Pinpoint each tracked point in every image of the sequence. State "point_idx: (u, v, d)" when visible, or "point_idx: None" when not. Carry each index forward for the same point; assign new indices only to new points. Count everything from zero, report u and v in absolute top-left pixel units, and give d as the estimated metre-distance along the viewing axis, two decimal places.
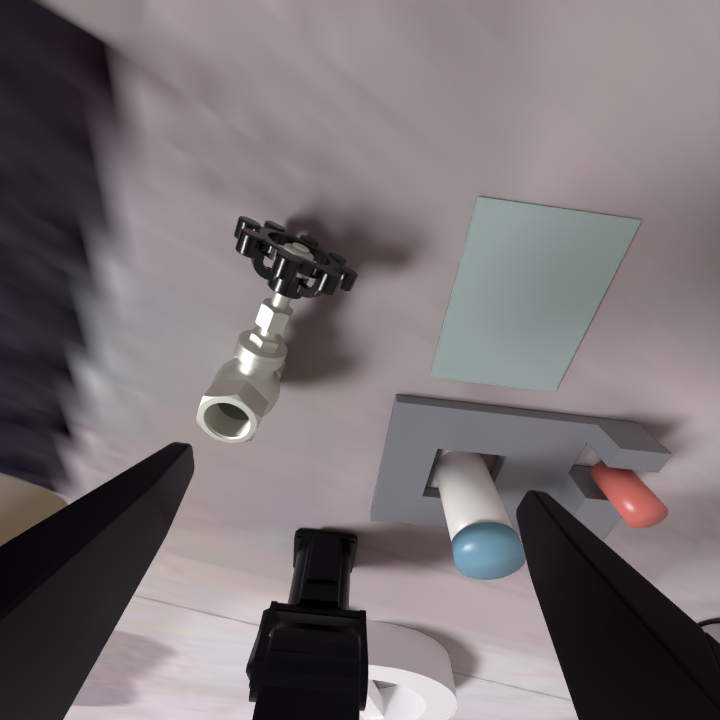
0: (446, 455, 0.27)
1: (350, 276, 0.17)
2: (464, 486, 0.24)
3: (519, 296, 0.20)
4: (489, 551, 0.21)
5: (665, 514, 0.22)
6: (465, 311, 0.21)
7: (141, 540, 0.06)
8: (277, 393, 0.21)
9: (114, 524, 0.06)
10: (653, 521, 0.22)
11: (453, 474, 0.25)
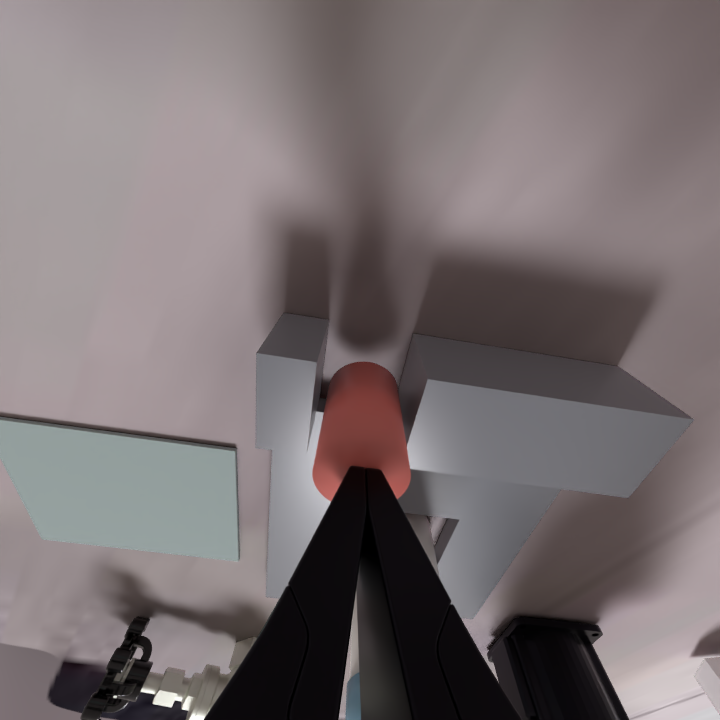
0: None
1: (108, 668, 0.20)
2: None
3: (115, 504, 0.18)
4: None
5: (355, 442, 0.08)
6: (149, 540, 0.19)
7: None
8: None
9: (360, 553, 0.06)
10: (384, 458, 0.08)
11: None
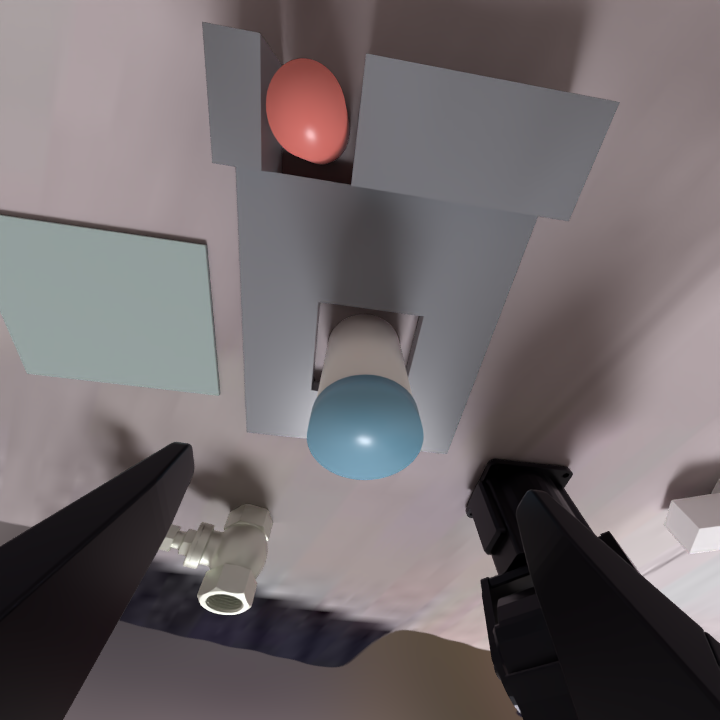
0: None
1: None
2: None
3: (95, 322, 0.18)
4: (339, 444, 0.13)
5: (297, 63, 0.10)
6: (131, 371, 0.20)
7: (141, 540, 0.06)
8: (235, 542, 0.24)
9: (114, 524, 0.06)
10: (322, 83, 0.10)
11: None
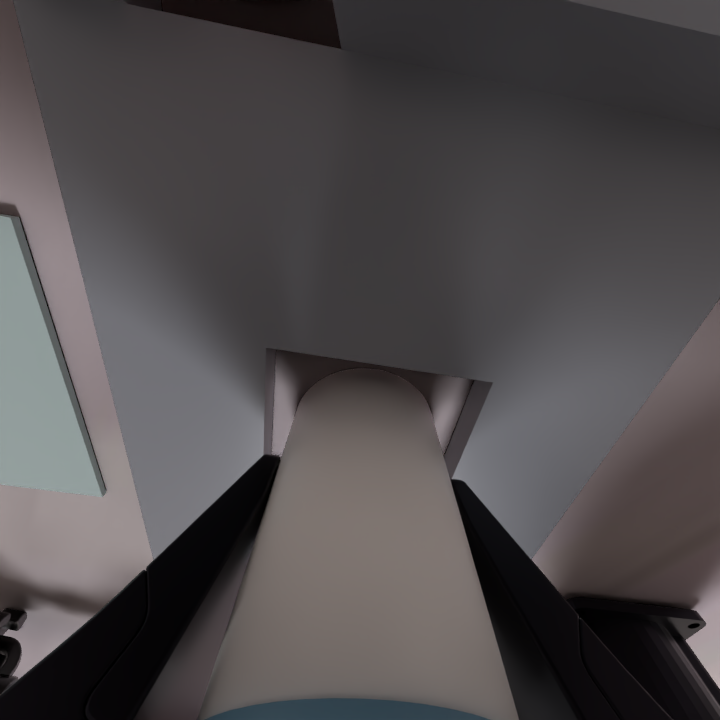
0: None
1: None
2: None
3: None
4: None
5: None
6: None
7: None
8: None
9: (241, 539, 0.06)
10: None
11: None
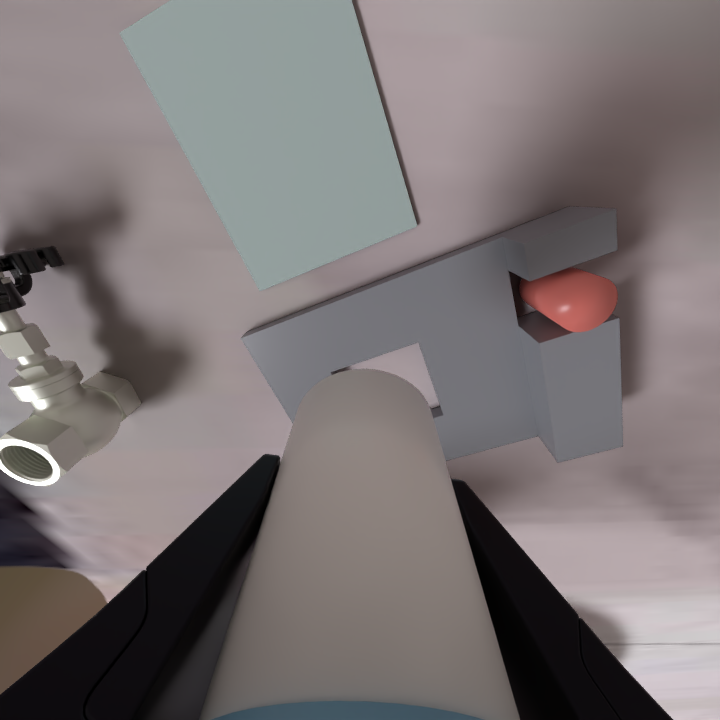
0: None
1: (14, 256, 0.15)
2: None
3: (267, 126, 0.15)
4: None
5: (613, 289, 0.14)
6: (227, 186, 0.16)
7: (251, 553, 0.07)
8: (96, 413, 0.19)
9: (241, 539, 0.06)
10: (605, 308, 0.14)
11: None
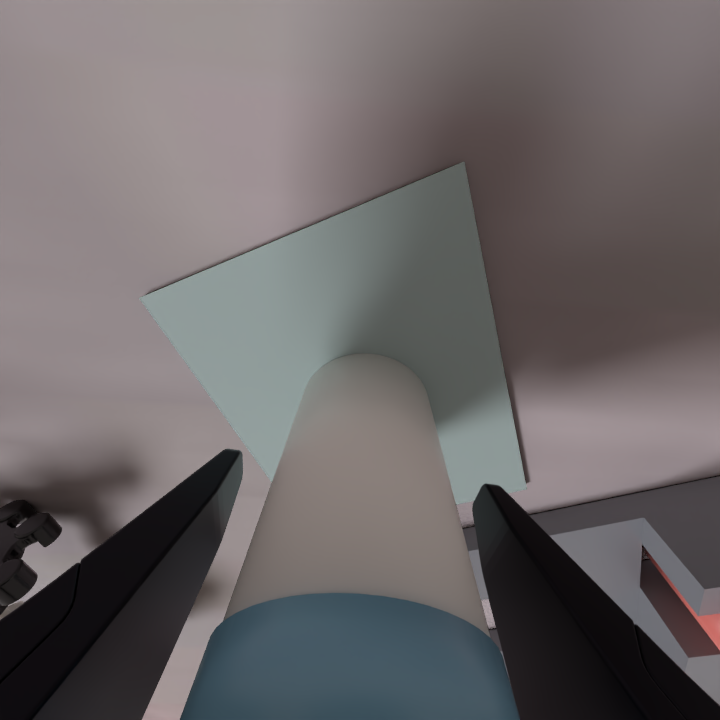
0: None
1: None
2: None
3: None
4: None
5: None
6: (279, 448, 0.12)
7: (204, 547, 0.07)
8: None
9: (186, 533, 0.06)
10: None
11: None
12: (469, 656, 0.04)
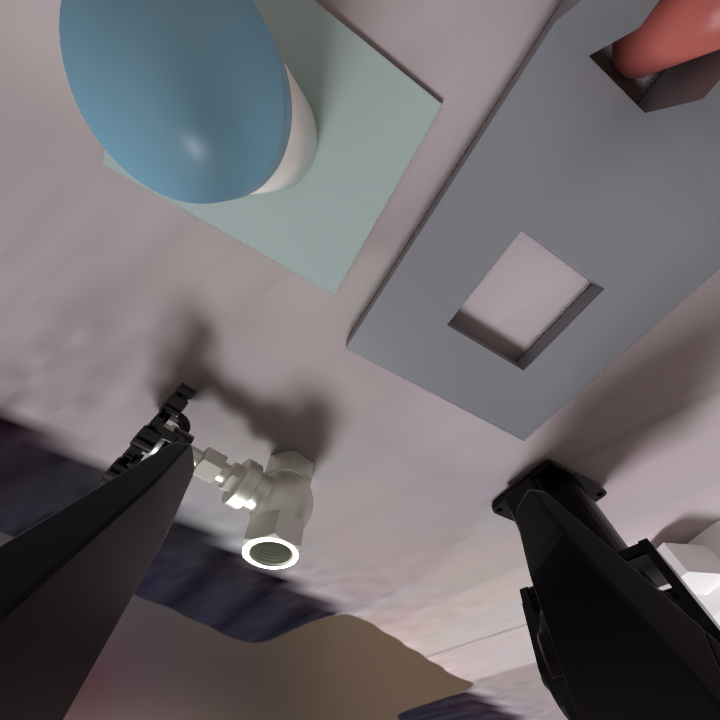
0: None
1: (164, 406, 0.17)
2: None
3: None
4: (155, 131, 0.07)
5: None
6: (249, 221, 0.16)
7: (141, 540, 0.06)
8: (289, 489, 0.20)
9: (114, 524, 0.06)
10: None
11: None
12: None
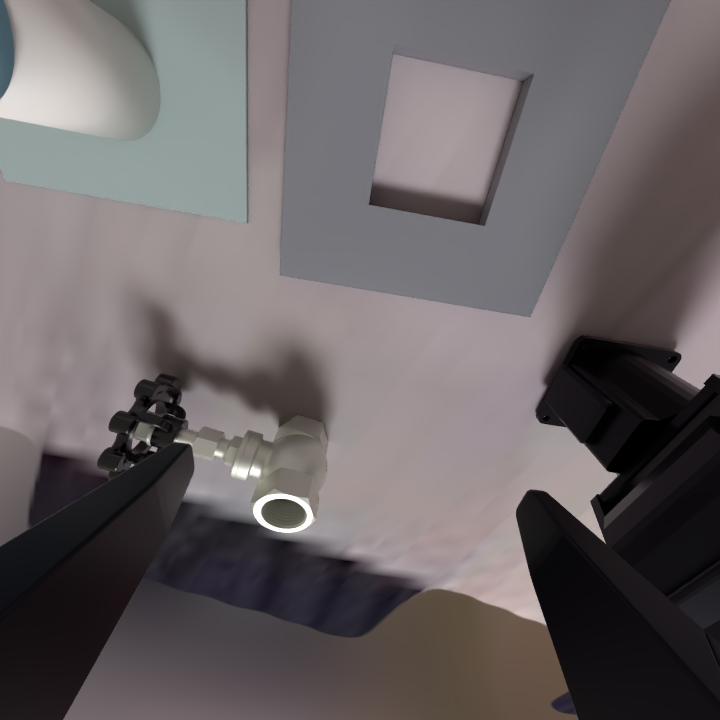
0: (128, 140, 0.15)
1: (136, 391, 0.17)
2: (48, 126, 0.12)
3: None
4: None
5: None
6: (137, 179, 0.16)
7: (141, 540, 0.06)
8: (291, 447, 0.19)
9: (114, 524, 0.06)
10: None
11: (92, 133, 0.13)
12: None
